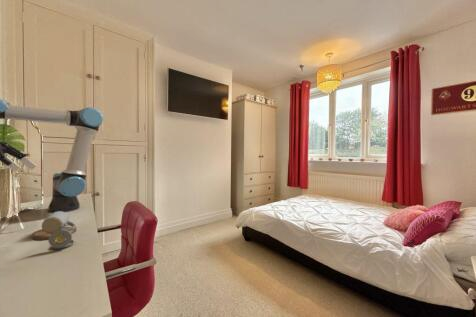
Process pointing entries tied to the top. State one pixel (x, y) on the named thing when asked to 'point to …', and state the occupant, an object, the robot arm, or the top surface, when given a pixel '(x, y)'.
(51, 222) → the ceramic mug
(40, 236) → the brown round plate
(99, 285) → the top surface
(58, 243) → the pocket watch
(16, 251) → the top surface
